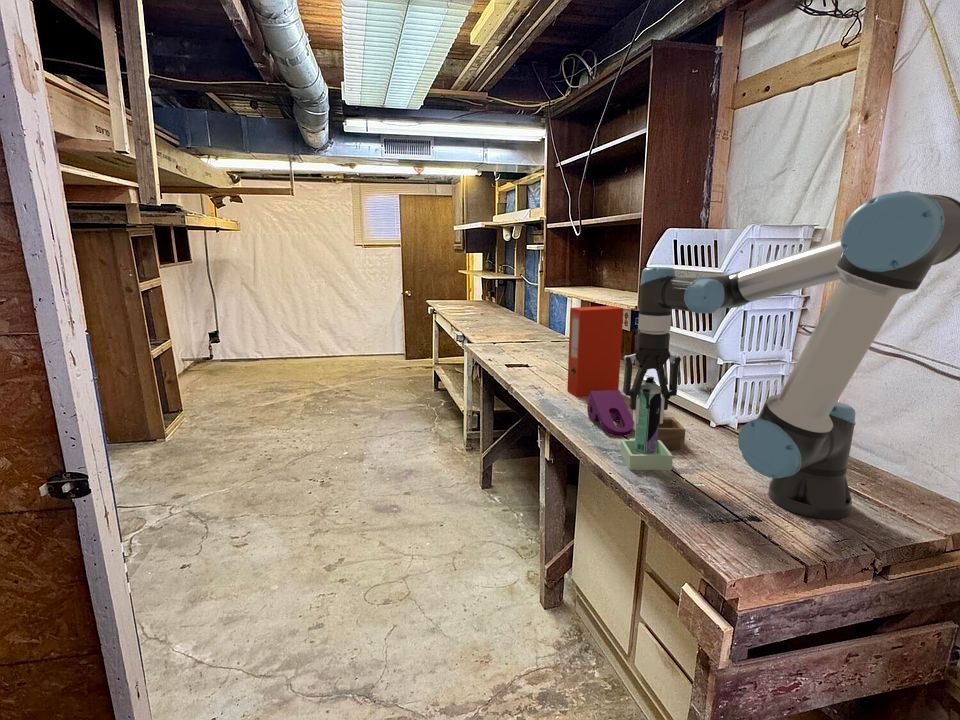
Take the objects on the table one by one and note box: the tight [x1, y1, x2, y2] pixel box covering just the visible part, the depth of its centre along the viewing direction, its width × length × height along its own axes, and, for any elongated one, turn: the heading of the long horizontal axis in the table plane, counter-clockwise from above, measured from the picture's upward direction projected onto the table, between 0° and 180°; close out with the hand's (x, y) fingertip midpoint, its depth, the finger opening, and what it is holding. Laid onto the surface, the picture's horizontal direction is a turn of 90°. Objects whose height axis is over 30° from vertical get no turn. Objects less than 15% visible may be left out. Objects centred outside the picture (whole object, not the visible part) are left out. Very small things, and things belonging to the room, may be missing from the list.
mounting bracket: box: [586, 389, 635, 437], centre depth 159 cm, size 10×8×18 cm
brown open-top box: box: [658, 416, 686, 451], centre depth 145 cm, size 12×9×6 cm
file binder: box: [566, 305, 624, 398], centre depth 190 cm, size 8×17×32 cm, turn 108°
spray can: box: [634, 376, 662, 455], centre depth 130 cm, size 6×6×20 cm
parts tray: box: [619, 439, 674, 471], centre depth 132 cm, size 10×10×4 cm
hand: (647, 421), depth 130 cm, fingers closed on spray can, 5 cm apart
